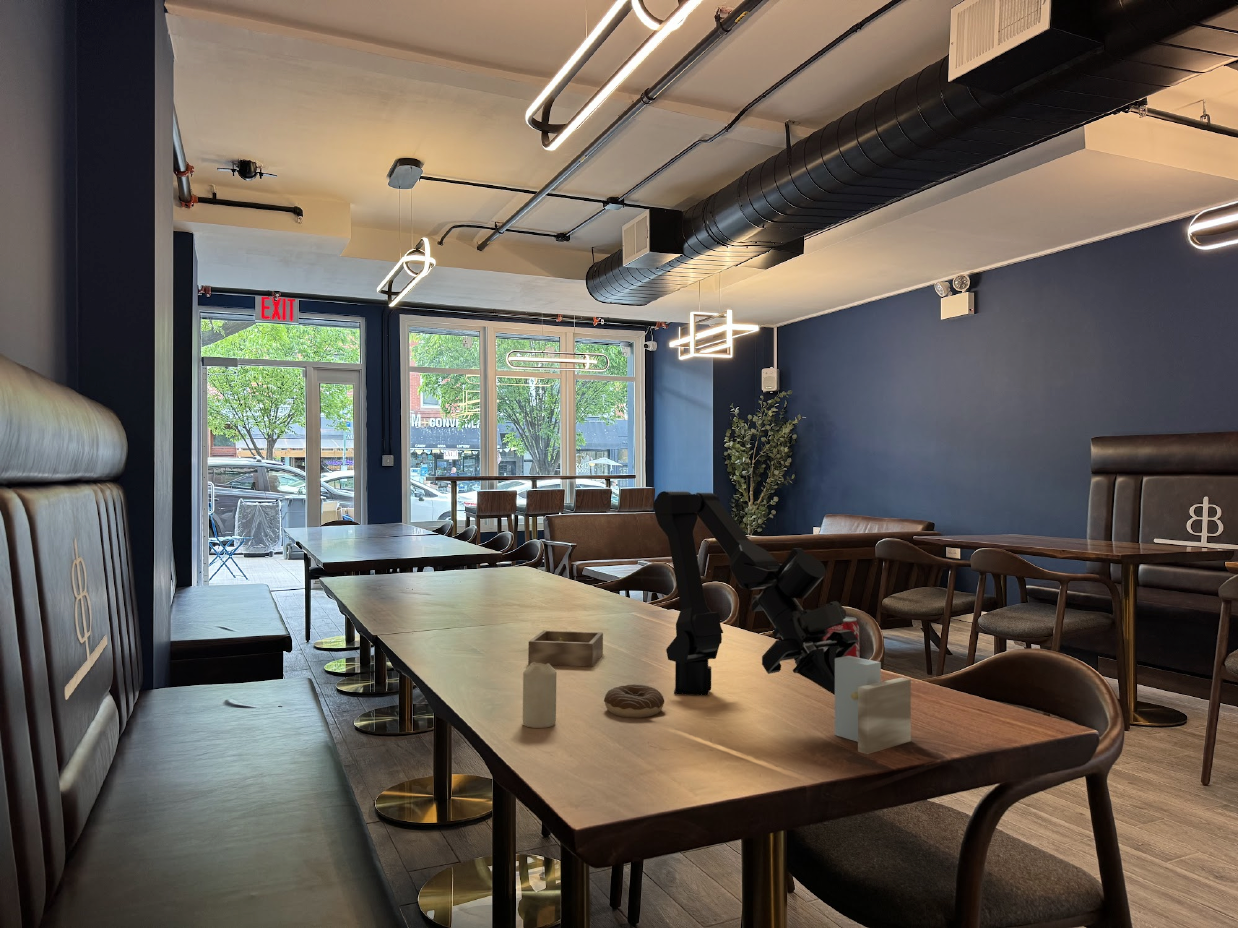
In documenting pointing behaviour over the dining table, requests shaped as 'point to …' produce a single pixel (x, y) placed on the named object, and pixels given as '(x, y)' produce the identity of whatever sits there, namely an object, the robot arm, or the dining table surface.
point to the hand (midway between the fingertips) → (840, 694)
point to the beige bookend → (884, 715)
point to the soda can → (848, 625)
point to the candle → (539, 695)
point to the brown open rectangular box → (566, 648)
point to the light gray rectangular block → (851, 691)
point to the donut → (634, 701)
